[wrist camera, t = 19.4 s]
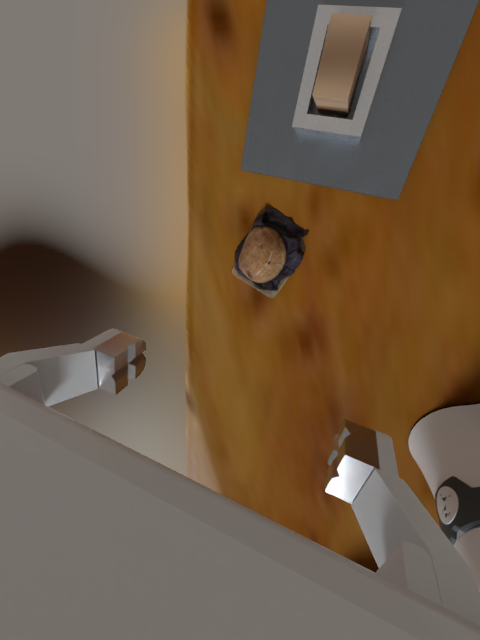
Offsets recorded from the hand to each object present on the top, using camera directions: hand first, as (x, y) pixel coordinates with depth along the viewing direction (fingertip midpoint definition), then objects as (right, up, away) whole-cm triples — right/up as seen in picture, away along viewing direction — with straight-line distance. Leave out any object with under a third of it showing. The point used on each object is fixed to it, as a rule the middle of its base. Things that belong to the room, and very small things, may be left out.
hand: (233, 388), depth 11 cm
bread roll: (+4, +12, +27) cm, 30 cm away
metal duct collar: (+11, +26, +17) cm, 33 cm away
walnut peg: (+10, +26, +16) cm, 32 cm away
